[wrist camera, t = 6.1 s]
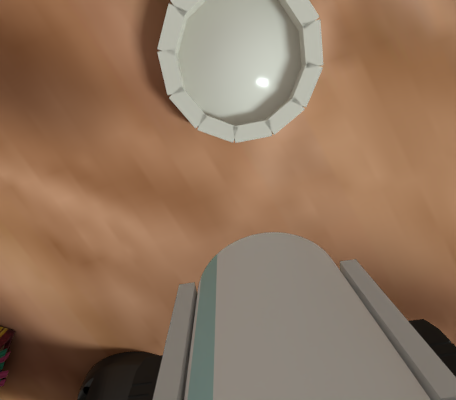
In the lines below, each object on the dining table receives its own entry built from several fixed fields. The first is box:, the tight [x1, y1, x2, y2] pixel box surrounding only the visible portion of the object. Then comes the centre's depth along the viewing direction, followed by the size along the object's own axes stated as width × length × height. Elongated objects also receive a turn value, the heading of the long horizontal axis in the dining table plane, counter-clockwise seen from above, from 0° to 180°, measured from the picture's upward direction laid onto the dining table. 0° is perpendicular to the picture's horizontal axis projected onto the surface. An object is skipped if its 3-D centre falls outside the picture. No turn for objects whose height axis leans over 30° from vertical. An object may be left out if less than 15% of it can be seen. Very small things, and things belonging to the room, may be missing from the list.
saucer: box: [157, 0, 323, 143], centre depth 25 cm, size 14×14×2 cm
